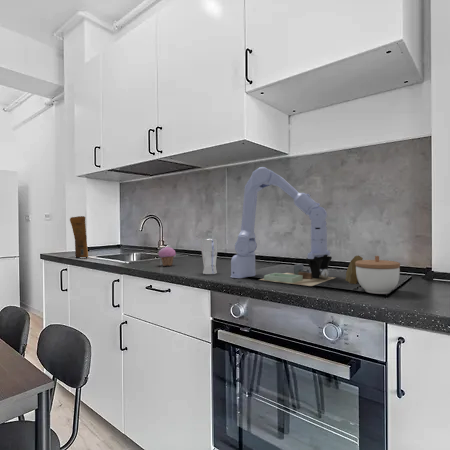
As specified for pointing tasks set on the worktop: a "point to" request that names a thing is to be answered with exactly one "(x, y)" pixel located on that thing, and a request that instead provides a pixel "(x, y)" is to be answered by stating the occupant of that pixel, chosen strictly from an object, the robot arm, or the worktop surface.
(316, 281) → the board
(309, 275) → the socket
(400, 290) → the worktop surface
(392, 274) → the lidded bowl
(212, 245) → the beer glass
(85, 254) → the pancake mix bag
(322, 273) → the grey cylinder
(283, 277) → the tray
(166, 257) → the cupcake
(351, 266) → the rock
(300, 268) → the grey stepped block
